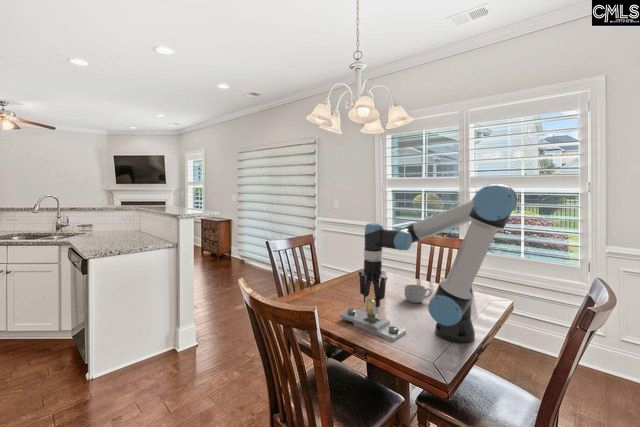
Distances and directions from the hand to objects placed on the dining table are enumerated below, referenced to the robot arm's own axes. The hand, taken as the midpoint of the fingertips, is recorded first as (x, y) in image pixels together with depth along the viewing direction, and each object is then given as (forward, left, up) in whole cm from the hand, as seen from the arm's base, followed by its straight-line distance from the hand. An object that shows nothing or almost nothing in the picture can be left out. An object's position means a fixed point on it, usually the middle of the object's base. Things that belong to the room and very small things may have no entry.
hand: (371, 312), depth 142 cm
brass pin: (0, 0, -2) cm, 2 cm away
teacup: (0, -42, -7) cm, 43 cm away
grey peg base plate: (0, 0, -7) cm, 7 cm away
